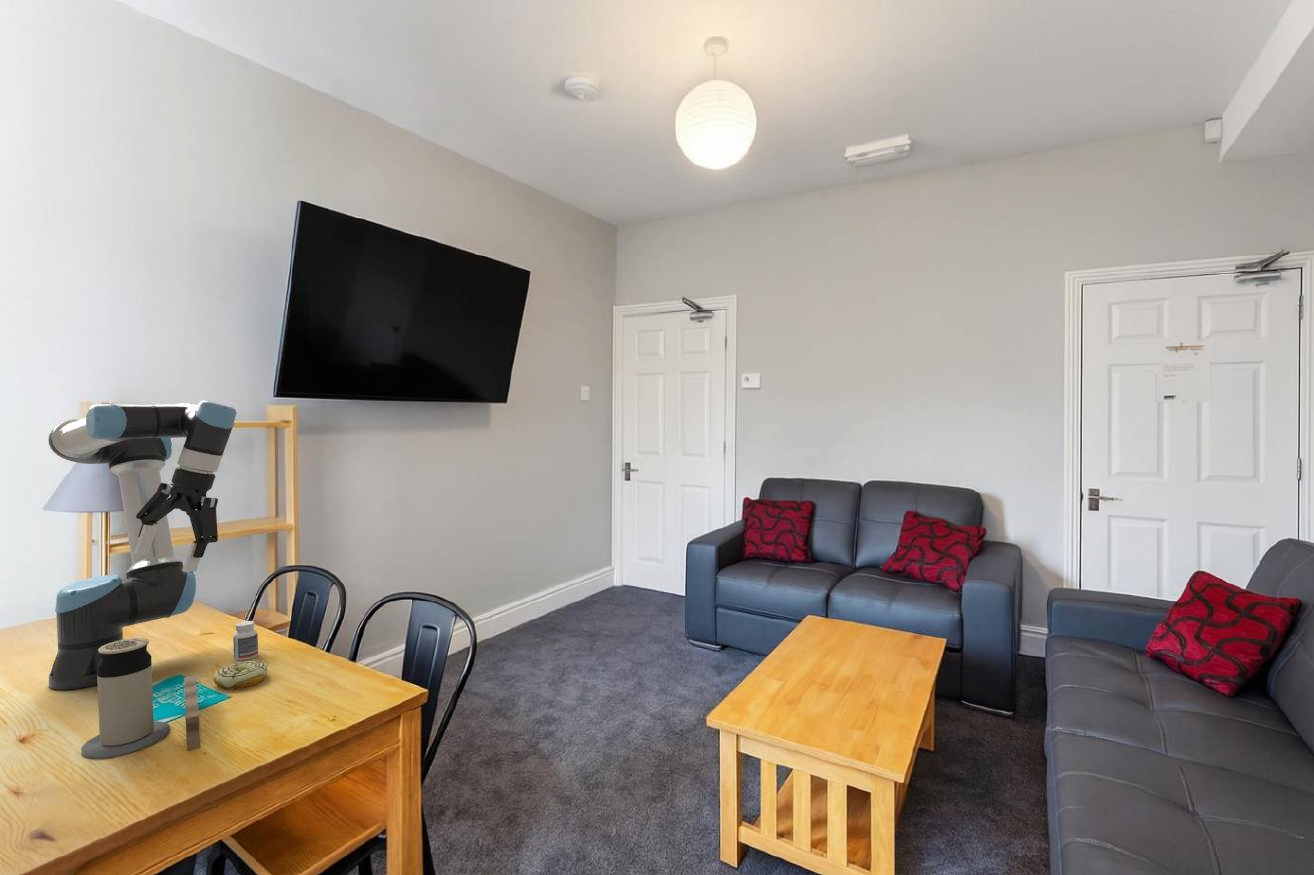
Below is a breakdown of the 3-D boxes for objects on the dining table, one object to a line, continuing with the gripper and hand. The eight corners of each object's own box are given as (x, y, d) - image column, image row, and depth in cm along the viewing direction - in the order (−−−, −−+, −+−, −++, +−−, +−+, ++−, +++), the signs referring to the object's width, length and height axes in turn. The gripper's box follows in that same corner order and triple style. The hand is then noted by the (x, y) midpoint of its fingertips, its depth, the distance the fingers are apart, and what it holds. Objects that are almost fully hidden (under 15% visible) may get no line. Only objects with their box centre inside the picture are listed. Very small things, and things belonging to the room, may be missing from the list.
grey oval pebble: (61, 760, 113) (61, 757, 113) (118, 725, 126) (118, 722, 126) (136, 757, 114) (136, 753, 114) (185, 722, 127) (185, 719, 127)
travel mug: (109, 751, 115) (105, 655, 115) (93, 740, 119) (89, 647, 119) (161, 733, 122) (157, 641, 121) (144, 722, 126) (141, 634, 126)
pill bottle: (263, 654, 164) (262, 621, 164) (244, 662, 159) (243, 627, 159) (248, 652, 166) (247, 619, 166) (229, 659, 161) (228, 625, 161)
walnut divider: (200, 747, 118) (199, 715, 117) (186, 750, 116) (185, 718, 116) (196, 702, 137) (195, 675, 136) (185, 704, 135) (184, 677, 135)
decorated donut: (225, 696, 140) (225, 679, 140) (206, 685, 146) (205, 669, 146) (275, 680, 148) (275, 664, 148) (255, 670, 155) (254, 654, 154)
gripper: (255, 485, 141) (224, 577, 139) (169, 457, 146) (137, 546, 145) (227, 482, 134) (194, 579, 132) (137, 454, 139) (104, 546, 137)
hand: (164, 562), depth 138 cm, fingers open, 13 cm apart
